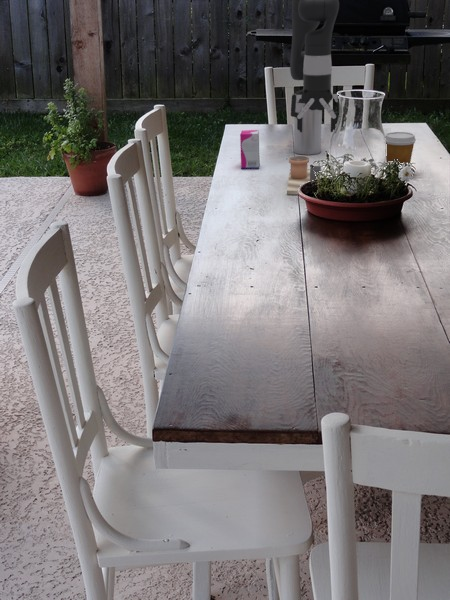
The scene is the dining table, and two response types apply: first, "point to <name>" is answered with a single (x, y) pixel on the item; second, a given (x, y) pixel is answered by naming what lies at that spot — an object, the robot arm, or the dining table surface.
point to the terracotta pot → (298, 167)
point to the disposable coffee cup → (399, 146)
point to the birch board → (301, 180)
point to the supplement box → (249, 149)
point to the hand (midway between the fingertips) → (316, 131)
